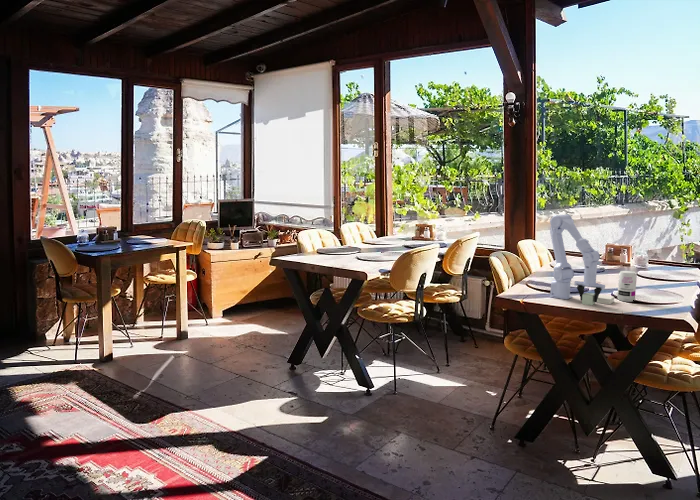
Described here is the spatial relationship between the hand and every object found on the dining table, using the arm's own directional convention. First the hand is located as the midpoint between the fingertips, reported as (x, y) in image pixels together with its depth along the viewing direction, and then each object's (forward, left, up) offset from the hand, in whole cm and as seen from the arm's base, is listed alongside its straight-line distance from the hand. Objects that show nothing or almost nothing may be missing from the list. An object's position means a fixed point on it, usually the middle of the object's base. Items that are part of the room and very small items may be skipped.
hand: (588, 300), depth 292 cm
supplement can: (+13, +19, -2) cm, 23 cm away
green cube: (0, 0, -2) cm, 2 cm away
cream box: (+5, +9, -2) cm, 10 cm away
